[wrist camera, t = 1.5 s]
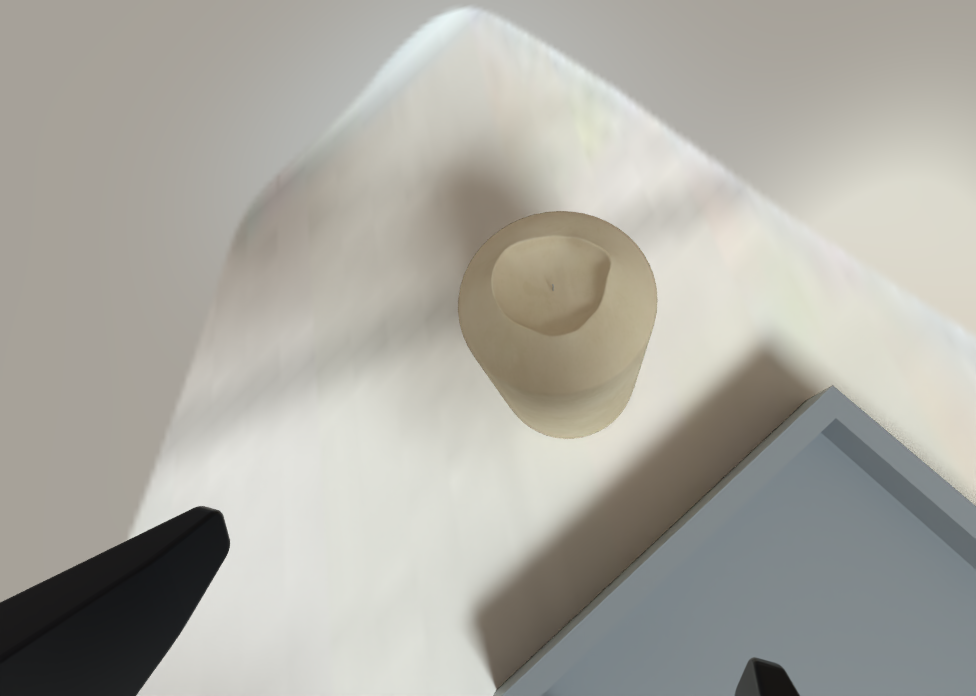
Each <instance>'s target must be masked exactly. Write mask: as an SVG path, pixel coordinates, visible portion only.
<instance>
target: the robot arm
mask: <svg viewBox="0 0 976 696" xmlns="http://www.w3.org/2000/svg"><path fill="white" fill-rule="evenodd" d="M229 548H230V539H229V535H228V531H227V527H226V524H225V520H224V516H223V514H222V513H221V512H220V511H219V510H216V509H212V508H209V507H205V506H199V507H195V508H193V509H191V510H189V511H187V512H185V513H183V514H181V515H179V516H176V517H174V518H172V519H170V520H168V521H166V522H164V523H162V524H160V525H158V526H156V527H154V528H152V529H150V530H148V531H146V532H144V533H142V534H140V535H138V536H136V537H134V538H131V539H129V540H127V541H125V542H123V543H121V544H119V545H117V546H115V547H113V548H111V549H109V550H107V551H105V552H103V553H101V554H99V555H97V556H95V557H93V558H91V559H88V560H87V561H85V562H83V563H80V564H78V565H76V566H74V567H72V568H70V569H68V570H66V571H64V572H62V573H60V574H58V575H56V576H54V577H52V578H50V579H48V580H46V581H43V582H42V583H39V584H37V585H35V586H33V587H31V588H29V589H27V590H25V591H23V592H21V593H19V594H17V595H15V596H13V597H11V598H9V599H7V600H5V601H3V602H1V603H0V696H136V695H137V694H138V692H139V691H140V689H141V688H142V687H143V685H144V684H145V682H146V681H147V680H148V678H149V677H150V676H151V674H152V673H153V671H154V670H155V669H156V667H157V666H158V664H159V663H160V662H161V660H162V659H163V657H164V656H165V655H166V653H167V652H168V650H169V649H170V648H171V646H172V645H173V643H174V642H175V640H176V639H177V638H178V636H179V635H180V633H181V631H182V630H183V628H184V627H185V625H186V624H187V622H188V620H189V619H190V617H191V615H192V614H193V612H194V610H195V608H196V607H197V605H198V603H199V602H200V600H201V598H202V597H203V595H204V593H205V592H206V590H207V588H208V587H209V585H210V583H211V581H212V580H213V578H214V576H215V575H216V573H217V571H218V570H219V568H220V566H221V565H222V563H223V561H224V559H225V558H226V556H227V554H228V551H229ZM735 696H800V694H799V693H798V691H797V689H796V688H795V686H794V684H793V682H792V681H791V679H790V677H789V676H788V674H787V672H786V671H785V669H784V668H783V667H782V666H781V665H779V664H777V663H775V662H771V661H767V660H764V659H760V658H756V657H753V658H751V659H749V661H748V662H747V665H746V667H745V669H744V671H743V674H742V676H741V678H740V681H739V683H738V685H737V688H736V691H735Z"/></svg>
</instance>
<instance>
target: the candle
mask: <svg viewBox="0 0 976 696" xmlns="http://www.w3.org/2000/svg"><path fill="white" fill-rule="evenodd" d="M458 313H459V322H460V326H461V330H462V333H463V336H464V338H465V341H466V343H467V345H468V347H469V349H470V350H471V352H472V354H473V355H474V357H475V358H476V360H477V361H478V363H479V364H480V366H481V367H482V368H483V370H484V371H485V373H486V374H487V375H488V377H489V378H490V380H491V381H492V383H493V384H494V385H495V387H496V388H497V390H498V391H499V392H500V394H501V395H502V397H503V398H504V400H505V401H506V402H507V404H508V405H509V407H510V408H511V409H512V410H513V412H514V413H515V414H516V415H517V417H518V418H520V419H521V420H522V421H523V422H524V423H525V424H526V425H528V426H529V427H530V428H532V429H534V430H535V431H537V432H539V433H542V434H544V435H547V436H551V437H555V438H563V439H573V438H580V437H585V436H588V435H592V434H594V433H596V432H599V431H600V430H602V429H604V428H605V427H607V426H608V425H610V424H611V423H612V422H613V421H614V420H615V419H616V418H617V417H618V416H619V415H620V414H621V413H622V411H623V410H624V408H625V407H626V405H627V403H628V401H629V399H630V397H631V394H632V392H633V389H634V386H635V383H636V380H637V377H638V374H639V370H640V367H641V364H642V361H643V358H644V355H645V352H646V348H647V345H648V342H649V339H650V336H651V333H652V330H653V326H654V322H655V318H656V313H657V288H656V283H655V279H654V275H653V272H652V270H651V267H650V265H649V263H648V261H647V259H646V257H645V256H644V254H643V252H642V251H641V250H640V248H639V247H638V246H637V245H636V243H635V242H634V241H633V240H632V239H631V238H630V237H629V236H628V235H626V234H625V233H624V232H622V231H621V230H620V229H618V228H617V227H615V226H614V225H612V224H610V223H608V222H606V221H604V220H602V219H599V218H597V217H594V216H590V215H587V214H583V213H576V212H566V211H556V212H545V213H540V214H535V215H532V216H528V217H525V218H522V219H520V220H518V221H516V222H513V223H511V224H509V225H508V226H506V227H504V228H503V229H501V230H500V231H498V232H497V233H496V234H494V235H493V236H492V237H491V238H490V239H489V240H488V241H487V242H486V243H485V244H484V245H483V246H482V247H481V248H480V249H479V250H478V252H477V253H476V254H475V256H474V257H473V259H472V260H471V262H470V264H469V266H468V268H467V270H466V272H465V274H464V277H463V280H462V283H461V287H460V293H459V300H458Z"/></svg>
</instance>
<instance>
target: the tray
mask: <svg viewBox="0 0 976 696" xmlns="http://www.w3.org/2000/svg"><path fill="white" fill-rule="evenodd" d="M753 657H756V658H760V659H764V660H767V661H771V662H775V663H777V664H779V665H781V666H782V667H783V668H784V669H785V671H786V672H787V674H788V676H789V677H790V679H791V681H792V682H793V684H794V686H795V688H796V689H797V691H798V693H799V694H800V696H976V506H975V505H974V504H972V503H971V502H970V501H969V500H968V499H967V498H965V497H964V496H963V495H962V494H961V493H959V492H958V491H957V490H956V489H955V488H954V487H952V486H951V485H950V484H949V483H948V482H946V481H945V480H944V479H943V478H942V477H941V476H939V475H938V474H937V473H936V472H935V471H933V470H932V469H931V468H930V467H929V466H927V465H926V464H925V463H924V462H923V461H922V460H920V459H919V458H918V457H917V456H916V455H914V454H913V453H912V452H911V451H910V450H909V449H907V448H906V447H905V446H904V445H903V444H901V443H900V442H899V441H898V440H897V439H896V438H894V437H893V436H892V435H891V434H890V433H888V432H887V431H886V430H885V429H884V428H883V427H881V426H880V425H879V424H878V423H877V422H875V421H874V420H873V419H872V418H871V417H870V416H868V415H867V414H866V413H865V412H864V411H862V410H861V409H860V408H859V407H858V406H857V405H855V404H854V403H853V402H852V401H851V400H849V399H848V398H847V397H846V396H845V395H844V394H842V393H841V392H840V391H839V390H838V389H836V388H835V387H834V386H833V385H832V386H831V387H829V388H827V389H825V390H824V391H822V392H820V393H818V394H817V395H815V396H813V397H811V398H810V399H808V400H806V401H805V402H804V403H803V404H802V405H801V406H800V407H799V408H798V409H797V410H795V411H794V412H793V413H792V414H791V415H790V416H789V417H788V418H787V419H786V420H785V421H784V422H783V423H782V424H780V425H779V426H778V427H777V428H776V429H775V430H774V431H773V432H772V433H771V434H770V435H769V436H768V437H767V438H766V439H764V440H763V441H762V442H761V443H760V444H759V445H758V446H757V447H756V448H755V449H754V450H753V451H752V452H751V453H749V454H748V455H747V456H746V457H745V458H744V459H743V460H742V461H741V462H740V463H739V464H738V465H737V466H736V467H734V468H733V469H732V470H731V471H730V472H729V473H728V474H727V475H726V476H725V477H724V478H723V479H722V480H721V481H720V482H718V483H717V484H716V485H715V486H714V487H713V488H712V489H711V490H710V491H709V492H708V493H707V494H706V495H705V496H703V497H702V498H701V499H700V500H699V501H698V502H697V503H696V504H695V505H694V506H693V507H692V508H691V509H690V510H689V511H687V512H686V513H685V514H684V515H683V516H682V517H681V518H680V519H679V520H678V521H677V522H676V523H675V524H674V525H672V526H671V527H670V528H669V529H668V530H667V531H666V532H665V533H664V534H663V535H662V536H661V537H660V538H659V539H658V540H656V541H655V542H654V543H653V544H652V545H651V546H650V547H649V548H648V549H647V550H646V551H645V552H644V553H643V554H641V555H640V556H639V557H638V558H637V559H636V560H635V561H634V562H633V563H632V564H631V565H630V566H629V567H628V568H627V569H625V570H624V571H623V572H622V573H621V574H620V575H619V576H618V577H617V578H616V579H615V580H614V581H613V582H612V583H610V584H609V585H608V586H607V587H606V588H605V589H604V590H603V591H602V592H601V593H600V594H599V595H598V596H597V597H595V598H594V599H593V600H592V601H591V602H590V603H589V604H588V605H587V606H586V607H585V608H584V609H583V610H582V611H581V612H579V613H578V614H577V615H576V616H575V617H574V618H573V619H572V620H571V621H570V622H569V623H568V624H567V625H566V626H564V627H563V628H562V629H561V630H560V631H559V632H558V633H557V634H556V635H555V636H554V637H553V638H552V639H551V640H550V641H548V642H547V643H546V644H545V645H544V646H543V647H542V648H541V649H540V650H539V651H538V652H537V653H536V654H535V655H533V656H532V657H531V658H530V659H529V660H528V661H527V662H526V663H525V664H524V665H523V666H522V667H521V668H520V669H519V670H517V671H516V672H515V673H514V674H513V675H512V676H511V677H510V678H509V679H508V680H507V681H506V682H505V683H504V684H502V685H501V686H500V687H499V688H498V689H497V690H496V692H495V693H494V695H493V696H735V691H736V688H737V685H738V683H739V681H740V678H741V676H742V674H743V671H744V669H745V667H746V665H747V662H748V661H749V659H751V658H753Z"/></svg>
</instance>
